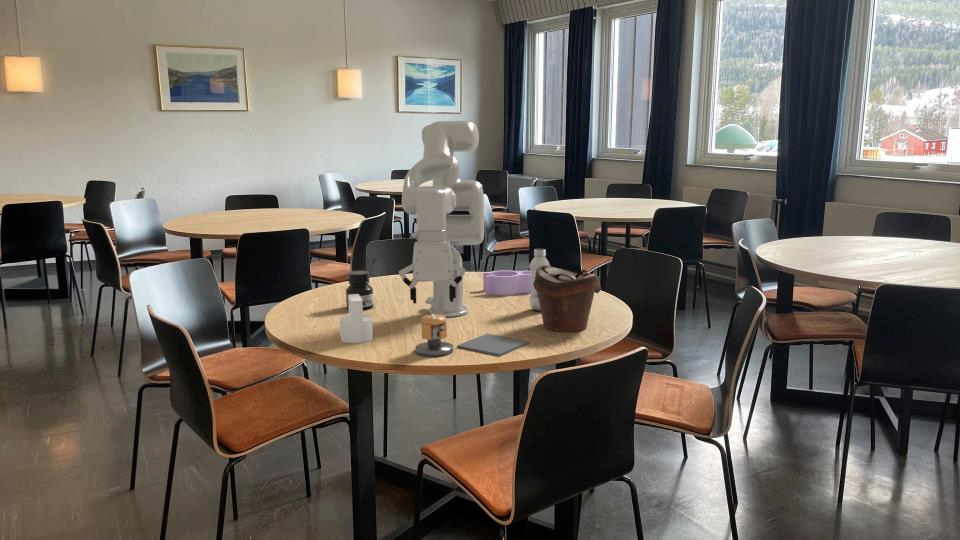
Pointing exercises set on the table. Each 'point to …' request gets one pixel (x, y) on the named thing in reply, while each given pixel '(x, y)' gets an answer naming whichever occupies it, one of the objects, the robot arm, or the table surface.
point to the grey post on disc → (434, 344)
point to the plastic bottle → (534, 265)
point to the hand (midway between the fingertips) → (433, 301)
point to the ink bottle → (360, 288)
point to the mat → (493, 344)
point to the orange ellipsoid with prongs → (433, 320)
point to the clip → (507, 282)
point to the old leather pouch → (565, 297)
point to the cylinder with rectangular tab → (356, 322)
